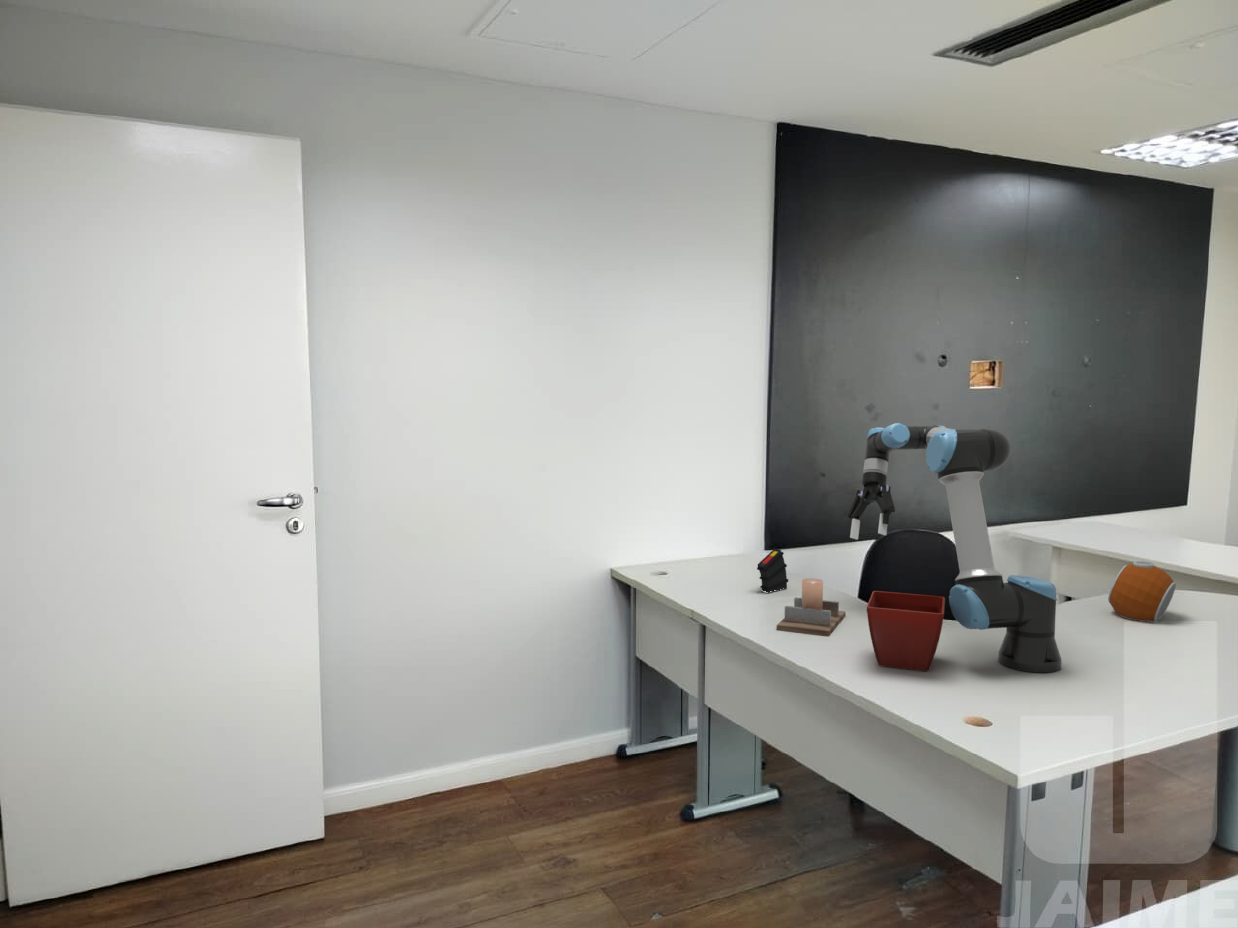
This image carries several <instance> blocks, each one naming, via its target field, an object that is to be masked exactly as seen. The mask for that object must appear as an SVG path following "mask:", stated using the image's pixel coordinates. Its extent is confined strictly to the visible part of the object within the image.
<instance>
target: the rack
mask: <svg viewBox="0 0 1238 928" xmlns="http://www.w3.org/2000/svg"><path fill="white" fill-rule="evenodd" d="M793 599H794V600H793V601H794V602H793V603H794V604H793V606H792V605H785V606H784V618H783V619H782V620H781V621H779V622H778V623H777V624H776V631H783V632H791V633H797V634H798V633H799V634H807V635H815V636H816V635H817V636H822V637H823V636H824V637H830V636H831V634H832V633H833V632H834V630H835V629H836V628H837V627H838V626H839V624H841V622H842V621H843V620H844V618H846V614H847V613H846V611H844V610H840V601H837V600H828V599H827V600H825V599H823V610H821V609H812V608H802V597H794V598H793Z"/></svg>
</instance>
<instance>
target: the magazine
mask: <svg viewBox="0 0 1238 928" xmlns="http://www.w3.org/2000/svg"><path fill="white" fill-rule="evenodd" d="M784 554H785V552H784V551H782V550H781V549H778V548H774V549H772V550H771V552H769V553H768V554H767V555H766V556H765V557H764V558H762V560H760V562H759V563H758V564H757V567H756V570H757V571H759V574H760V577H758V578H759V579H760V581H761V585H760V587H759V588H760V589H761V591H762V590H763V591H766V592H770V591H774V590H779V591H781V590H780V589H783V588H787V589H788V584H787V583H789V578H787V569H786V568H787V567H788V564H787V563H785V562H786V561H785V559H784ZM783 590H784V589H783Z"/></svg>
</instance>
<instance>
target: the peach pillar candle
mask: <svg viewBox="0 0 1238 928" xmlns="http://www.w3.org/2000/svg"><path fill="white" fill-rule="evenodd" d="M801 598H802V608H812V609H821V610H823V600H824V580H822V579H819V578H804V579H802V580H801Z"/></svg>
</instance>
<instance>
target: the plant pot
mask: <svg viewBox="0 0 1238 928" xmlns="http://www.w3.org/2000/svg"><path fill="white" fill-rule="evenodd" d="M945 605H946V597H945V596H938V595H937V596H936V595H931V594H930V595H928V594H915V593H905V592H893V591H891V592H890V591H881V590H873V591H872V593H871V595H870V598H869V600H868V602H867V604H866V614H867V623H868V628H869V634H870V639H871V644H872V648H873V652H874V654H875V655H874V656H875V659H876V662H877V664H878V666H879V667H888V668H894V669H895V668H896V669H897V668H898V669H903V670H904V669H905V670H913V671H921V672H928V671H930V668H931V666H932V664H933V661H934V658H935V655H936V652H937V649H938V645H939V641H940V637H941V633H942V628H943V624H944V616H945Z"/></svg>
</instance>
